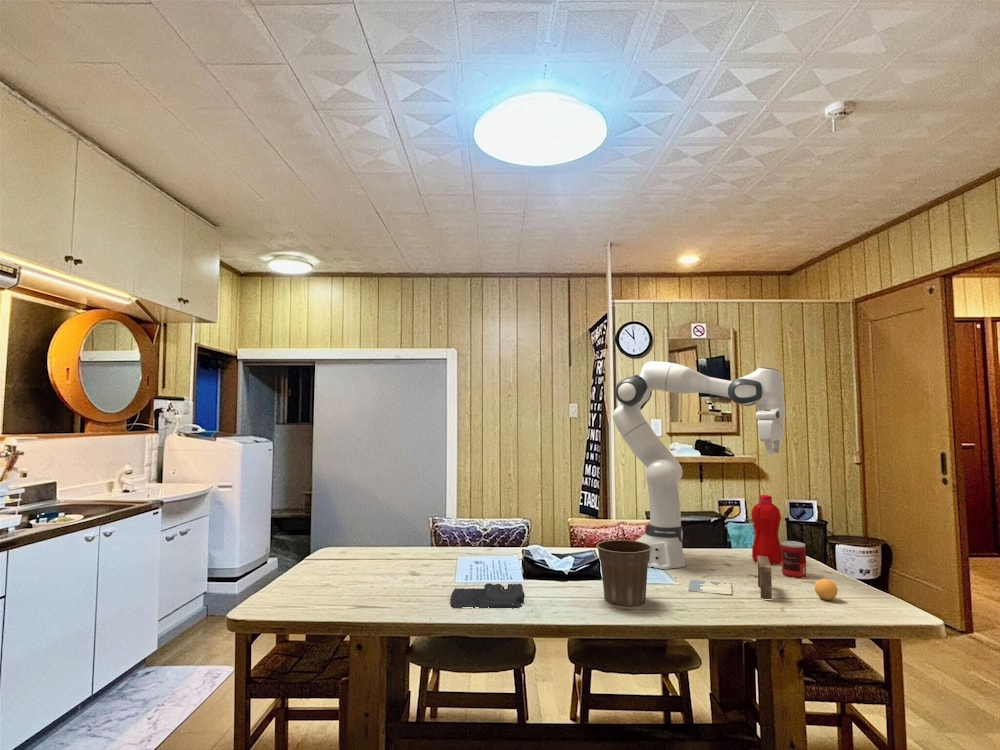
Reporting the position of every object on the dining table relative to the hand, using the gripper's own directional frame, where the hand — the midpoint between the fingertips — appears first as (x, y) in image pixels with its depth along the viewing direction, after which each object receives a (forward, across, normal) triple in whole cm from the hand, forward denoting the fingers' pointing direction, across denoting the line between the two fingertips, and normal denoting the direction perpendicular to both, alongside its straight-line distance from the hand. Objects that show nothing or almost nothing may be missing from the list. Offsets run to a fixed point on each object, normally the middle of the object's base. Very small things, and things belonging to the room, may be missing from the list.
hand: (773, 453), depth 203 cm
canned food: (+42, -7, +3) cm, 43 cm away
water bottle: (+42, -20, -9) cm, 48 cm away
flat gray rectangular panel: (+42, +26, -15) cm, 51 cm away
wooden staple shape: (+42, +21, 0) cm, 47 cm away
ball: (+40, +16, +16) cm, 46 cm away
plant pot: (+41, +55, -32) cm, 76 cm away
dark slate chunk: (+41, +80, -64) cm, 110 cm away
